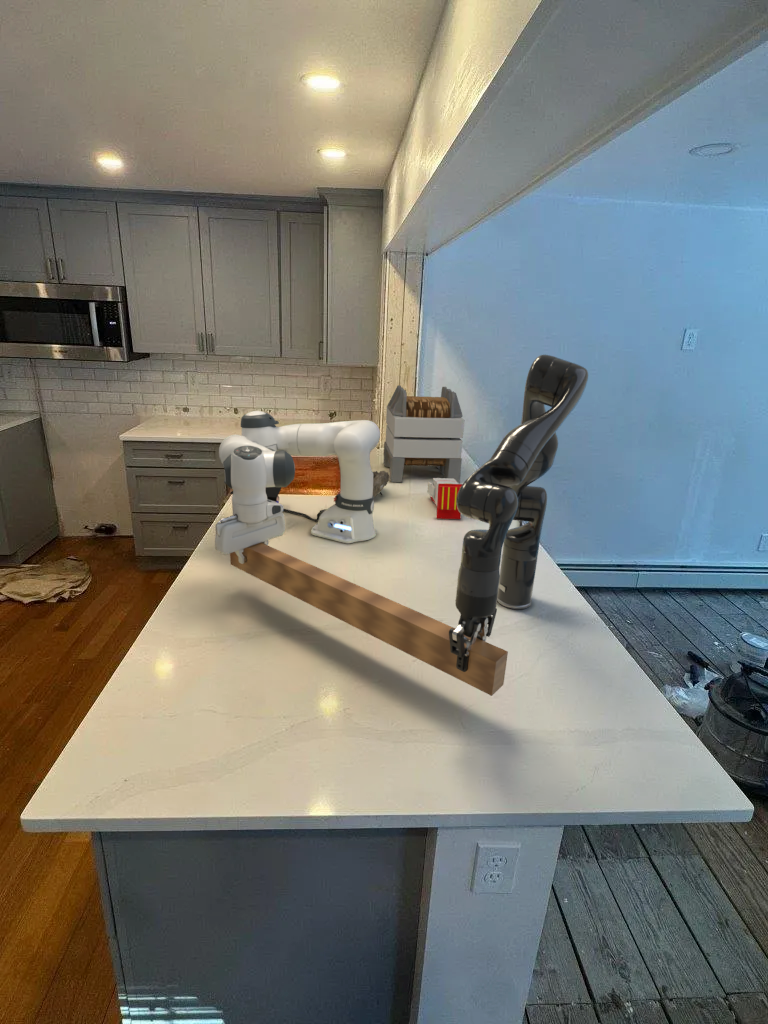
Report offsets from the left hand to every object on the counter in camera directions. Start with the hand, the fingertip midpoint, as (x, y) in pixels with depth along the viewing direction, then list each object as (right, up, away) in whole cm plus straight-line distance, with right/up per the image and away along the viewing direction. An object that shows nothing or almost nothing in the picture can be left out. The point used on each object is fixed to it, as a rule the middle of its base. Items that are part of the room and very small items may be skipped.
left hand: (252, 559), depth 150 cm
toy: (+59, +14, +78) cm, 99 cm away
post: (+26, -11, -19) cm, 34 cm away
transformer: (+52, +31, +125) cm, 139 cm away
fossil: (+30, +20, +89) cm, 97 cm away
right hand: (+52, -17, -40) cm, 67 cm away
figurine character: (-8, +13, +67) cm, 69 cm away
